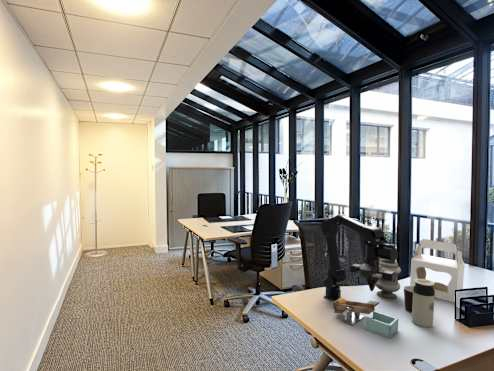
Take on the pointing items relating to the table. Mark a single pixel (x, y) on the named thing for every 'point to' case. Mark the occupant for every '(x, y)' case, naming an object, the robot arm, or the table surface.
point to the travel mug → (423, 302)
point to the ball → (342, 301)
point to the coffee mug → (408, 298)
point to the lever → (355, 307)
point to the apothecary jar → (388, 285)
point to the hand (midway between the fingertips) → (371, 290)
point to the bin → (382, 324)
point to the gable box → (438, 267)
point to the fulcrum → (352, 317)
